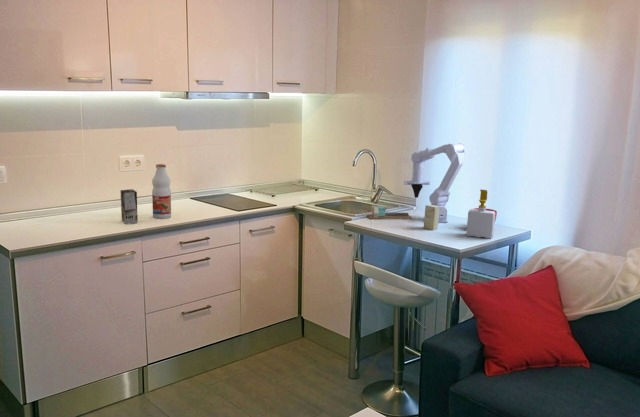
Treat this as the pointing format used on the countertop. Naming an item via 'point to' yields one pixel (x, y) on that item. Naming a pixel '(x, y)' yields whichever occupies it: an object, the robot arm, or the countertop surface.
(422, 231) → the countertop surface
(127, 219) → the coffee box
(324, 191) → the countertop surface
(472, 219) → the soap bottle
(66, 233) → the countertop surface
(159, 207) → the fruit juice
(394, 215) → the rail board
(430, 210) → the skincare box
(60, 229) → the countertop surface
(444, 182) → the robot arm
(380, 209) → the keeper
